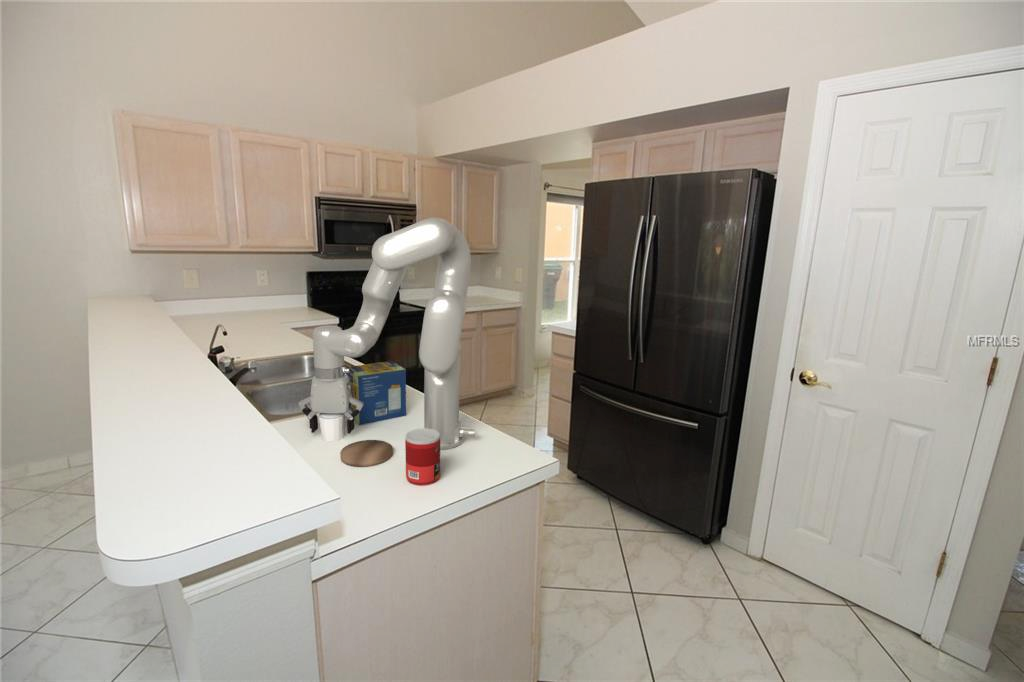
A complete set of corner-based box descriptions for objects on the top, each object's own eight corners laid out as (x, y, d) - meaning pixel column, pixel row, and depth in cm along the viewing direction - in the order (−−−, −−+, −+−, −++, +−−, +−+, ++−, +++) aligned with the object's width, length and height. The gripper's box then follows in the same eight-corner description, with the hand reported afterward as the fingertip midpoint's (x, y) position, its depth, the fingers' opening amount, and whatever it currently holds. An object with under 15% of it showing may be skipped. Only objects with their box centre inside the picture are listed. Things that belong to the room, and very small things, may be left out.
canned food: (442, 484, 110) (442, 440, 108) (407, 488, 108) (406, 443, 106) (437, 468, 118) (437, 426, 115) (404, 471, 115) (404, 429, 113)
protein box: (346, 414, 149) (344, 366, 145) (393, 405, 158) (392, 360, 154) (358, 426, 140) (356, 375, 137) (407, 415, 150) (406, 368, 146)
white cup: (321, 444, 128) (319, 420, 126) (318, 434, 134) (317, 411, 132) (347, 440, 131) (346, 416, 129) (344, 430, 137) (343, 407, 135)
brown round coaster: (397, 444, 130) (397, 440, 129) (386, 467, 117) (386, 463, 117) (349, 443, 129) (349, 439, 129) (333, 466, 116) (333, 462, 116)
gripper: (366, 368, 132) (367, 426, 136) (302, 366, 131) (306, 425, 135) (358, 377, 125) (360, 437, 128) (291, 375, 124) (295, 436, 128)
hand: (332, 431), depth 132 cm, fingers open, 9 cm apart
